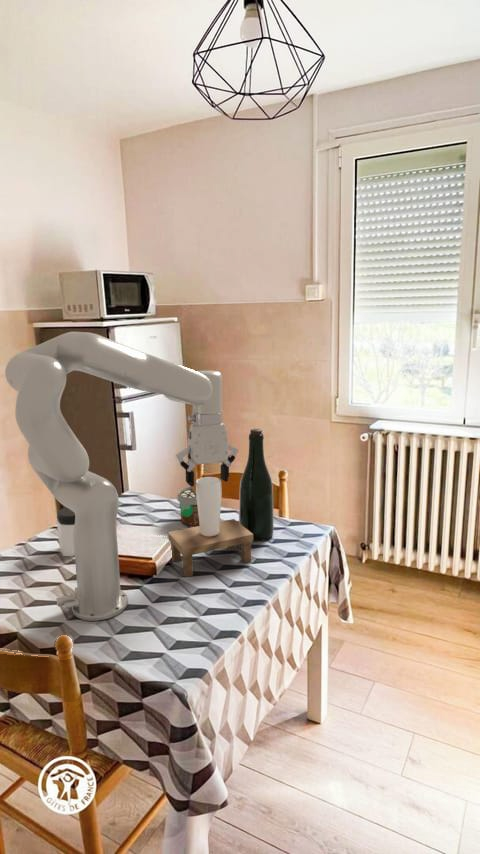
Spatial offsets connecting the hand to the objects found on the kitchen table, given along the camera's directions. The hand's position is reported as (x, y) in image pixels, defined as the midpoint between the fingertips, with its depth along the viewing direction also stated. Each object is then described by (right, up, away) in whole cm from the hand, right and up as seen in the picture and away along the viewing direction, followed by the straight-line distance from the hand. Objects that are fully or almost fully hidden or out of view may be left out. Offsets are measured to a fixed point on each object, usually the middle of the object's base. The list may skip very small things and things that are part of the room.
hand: (207, 482), depth 139 cm
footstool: (+1, -22, +5) cm, 23 cm away
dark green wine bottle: (+14, -18, +21) cm, 31 cm away
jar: (-39, -21, +12) cm, 46 cm away
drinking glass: (0, -14, +3) cm, 15 cm away
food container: (-8, -16, +32) cm, 37 cm away
